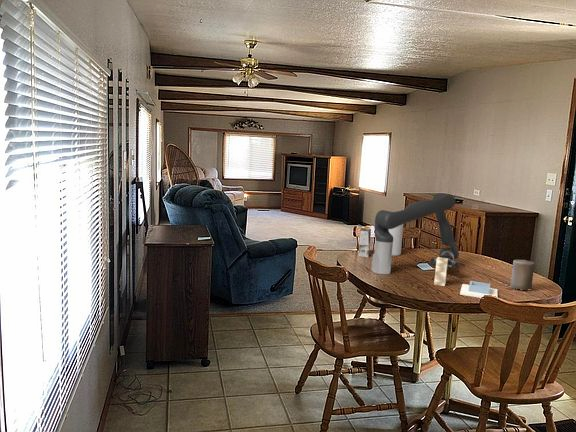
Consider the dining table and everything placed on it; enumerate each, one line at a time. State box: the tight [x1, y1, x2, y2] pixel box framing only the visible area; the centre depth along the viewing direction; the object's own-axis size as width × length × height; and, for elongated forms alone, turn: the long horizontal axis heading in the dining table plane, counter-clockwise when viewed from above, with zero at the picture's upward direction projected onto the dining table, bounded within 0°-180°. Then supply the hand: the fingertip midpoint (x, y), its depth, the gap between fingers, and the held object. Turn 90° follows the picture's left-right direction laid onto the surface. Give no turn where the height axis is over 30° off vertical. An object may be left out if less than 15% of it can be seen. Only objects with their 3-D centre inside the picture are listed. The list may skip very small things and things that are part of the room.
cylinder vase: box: [389, 224, 404, 257], centre depth 303 cm, size 12×12×25 cm
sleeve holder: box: [459, 280, 498, 299], centre depth 227 cm, size 16×16×4 cm
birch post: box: [433, 256, 448, 287], centre depth 239 cm, size 5×5×13 cm
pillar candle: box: [509, 259, 535, 291], centre depth 239 cm, size 10×10×15 cm
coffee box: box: [358, 228, 372, 258], centre depth 295 cm, size 9×6×16 cm
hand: (443, 265), depth 248 cm, fingers open, 8 cm apart
